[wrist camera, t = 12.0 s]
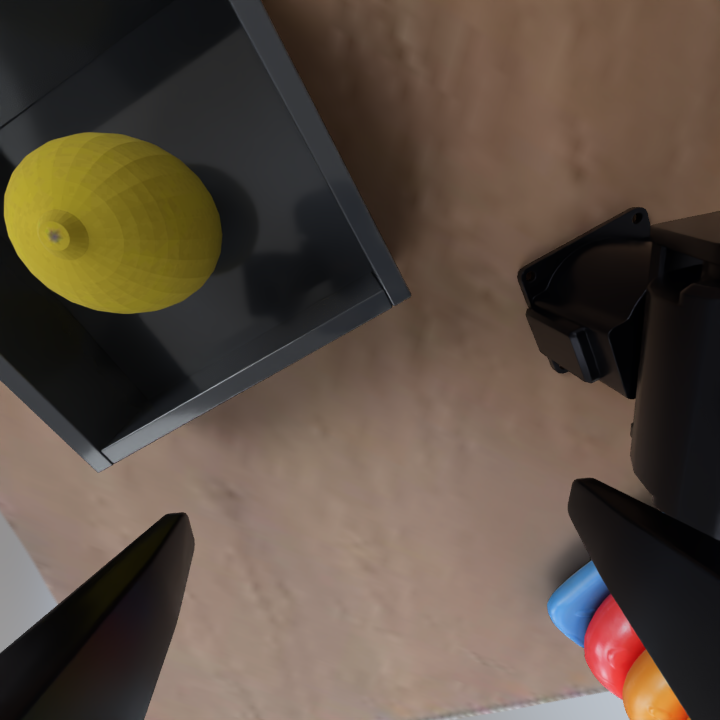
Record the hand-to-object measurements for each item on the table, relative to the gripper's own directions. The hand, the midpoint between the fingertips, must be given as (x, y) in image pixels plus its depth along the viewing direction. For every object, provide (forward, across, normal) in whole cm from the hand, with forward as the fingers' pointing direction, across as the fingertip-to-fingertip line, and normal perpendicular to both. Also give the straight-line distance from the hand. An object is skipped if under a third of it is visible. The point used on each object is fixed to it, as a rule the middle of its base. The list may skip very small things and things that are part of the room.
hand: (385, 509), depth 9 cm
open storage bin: (+12, +8, -6) cm, 15 cm away
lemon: (+11, +8, -6) cm, 15 cm away
